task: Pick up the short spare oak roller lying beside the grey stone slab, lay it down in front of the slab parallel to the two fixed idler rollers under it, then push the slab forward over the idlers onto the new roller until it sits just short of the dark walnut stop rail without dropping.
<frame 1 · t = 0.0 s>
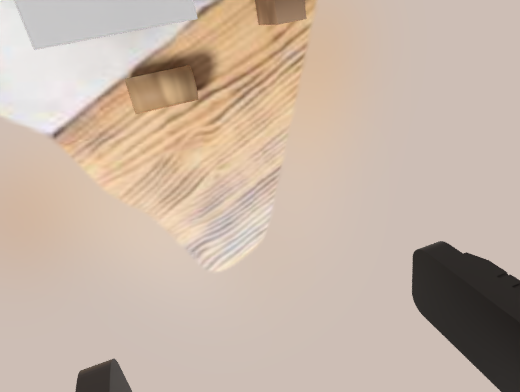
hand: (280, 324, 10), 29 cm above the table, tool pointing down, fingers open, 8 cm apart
roller c: (161, 87, 34), on the table
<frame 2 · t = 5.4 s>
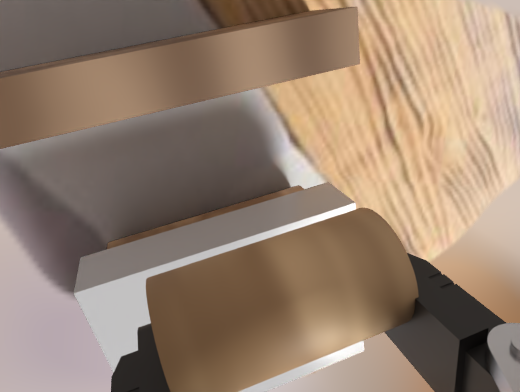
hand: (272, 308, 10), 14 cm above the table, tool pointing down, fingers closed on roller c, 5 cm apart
roller b: (210, 226, 25), on the table
roller c: (269, 300, 11), point 14 cm above the table, tilted 39°, touching gripper
slab: (232, 293, 23), point 3 cm above the table, touching roller a, roller b
stop rail: (168, 65, 20), on the table
when the fingers open (1 cm above the table, at t = 8.1 s): roller c stays where it is, on the table.
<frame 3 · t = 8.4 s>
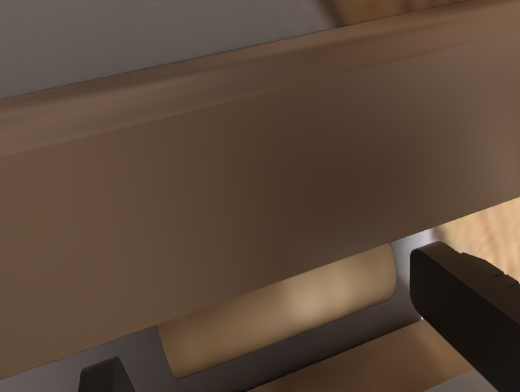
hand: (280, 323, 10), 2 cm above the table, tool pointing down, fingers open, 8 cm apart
roller b: (281, 389, 14), on the table
roller c: (261, 284, 11), on the table, tilted 43°
stop rail: (221, 109, 9), on the table
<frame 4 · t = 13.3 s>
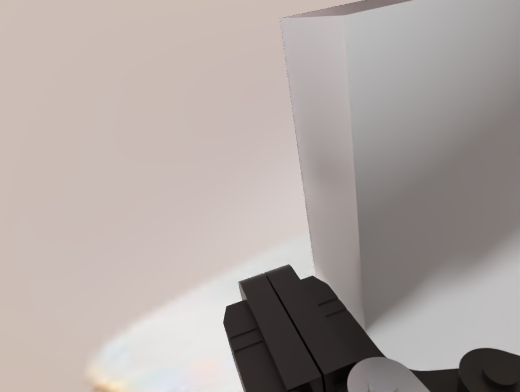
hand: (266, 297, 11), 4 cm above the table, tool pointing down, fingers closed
slab: (458, 207, 13), point 3 cm above the table, touching gripper, roller a, roller b
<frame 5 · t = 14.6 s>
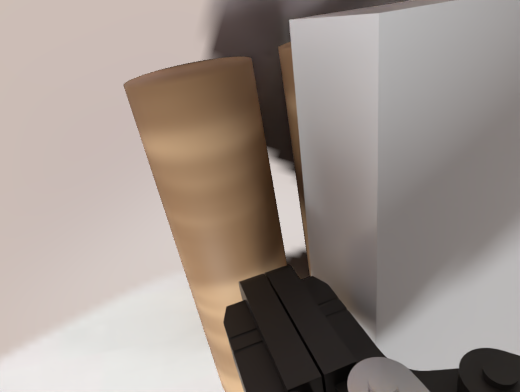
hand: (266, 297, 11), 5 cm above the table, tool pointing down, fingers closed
roller a: (221, 226, 15), on the table
roller b: (327, 193, 15), on the table
slab: (442, 213, 14), point 3 cm above the table, tilted 7°, touching gripper, roller b, roller c, stop rail
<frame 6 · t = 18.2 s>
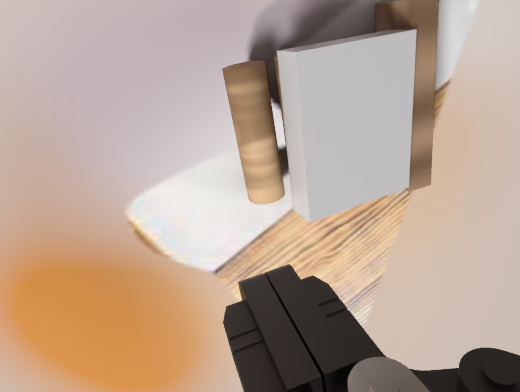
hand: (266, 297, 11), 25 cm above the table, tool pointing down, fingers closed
roller a: (250, 130, 35), on the table
slab: (339, 123, 34), point 3 cm above the table, tilted 6°, touching roller b, roller c
stop rail: (388, 94, 38), on the table
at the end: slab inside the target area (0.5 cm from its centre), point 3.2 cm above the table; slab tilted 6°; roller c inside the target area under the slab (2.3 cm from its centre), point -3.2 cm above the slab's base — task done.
